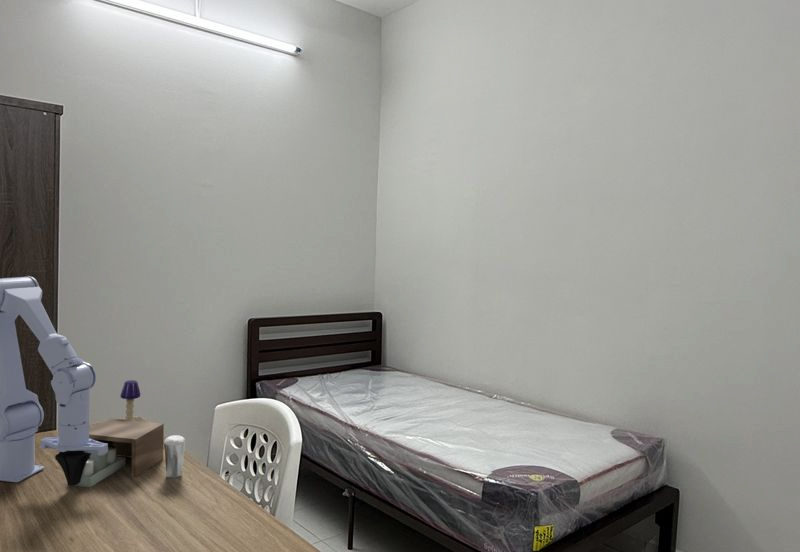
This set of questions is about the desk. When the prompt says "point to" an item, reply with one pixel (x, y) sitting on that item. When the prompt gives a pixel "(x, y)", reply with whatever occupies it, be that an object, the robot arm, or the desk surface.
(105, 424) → the brown open box
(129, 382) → the toy lamp
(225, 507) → the desk surface
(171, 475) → the milkshake
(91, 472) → the caddy
